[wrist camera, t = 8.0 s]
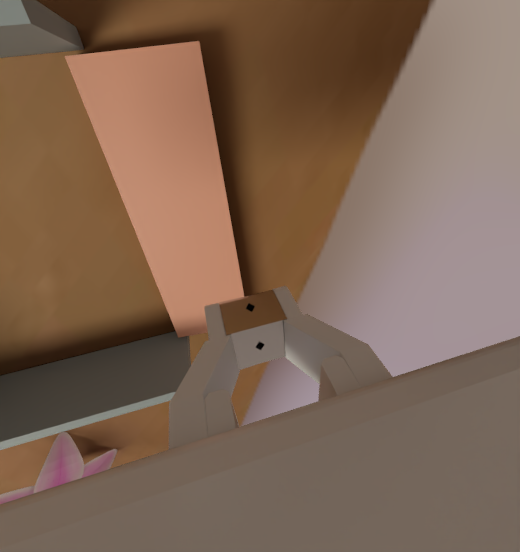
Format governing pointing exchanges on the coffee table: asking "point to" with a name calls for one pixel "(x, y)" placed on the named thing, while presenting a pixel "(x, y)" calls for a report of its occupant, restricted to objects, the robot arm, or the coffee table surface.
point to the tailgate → (166, 170)
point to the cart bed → (93, 366)
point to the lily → (63, 467)
